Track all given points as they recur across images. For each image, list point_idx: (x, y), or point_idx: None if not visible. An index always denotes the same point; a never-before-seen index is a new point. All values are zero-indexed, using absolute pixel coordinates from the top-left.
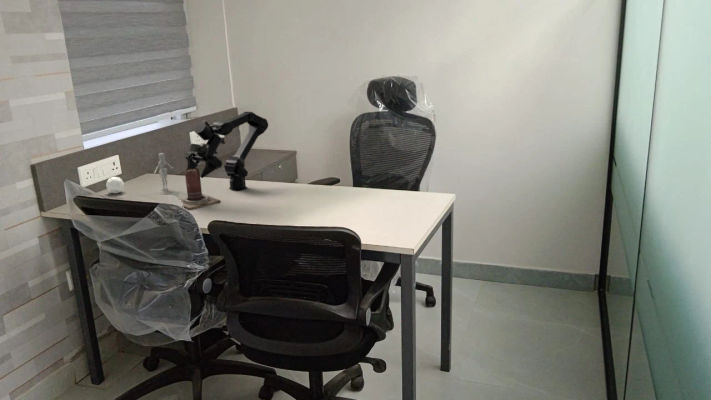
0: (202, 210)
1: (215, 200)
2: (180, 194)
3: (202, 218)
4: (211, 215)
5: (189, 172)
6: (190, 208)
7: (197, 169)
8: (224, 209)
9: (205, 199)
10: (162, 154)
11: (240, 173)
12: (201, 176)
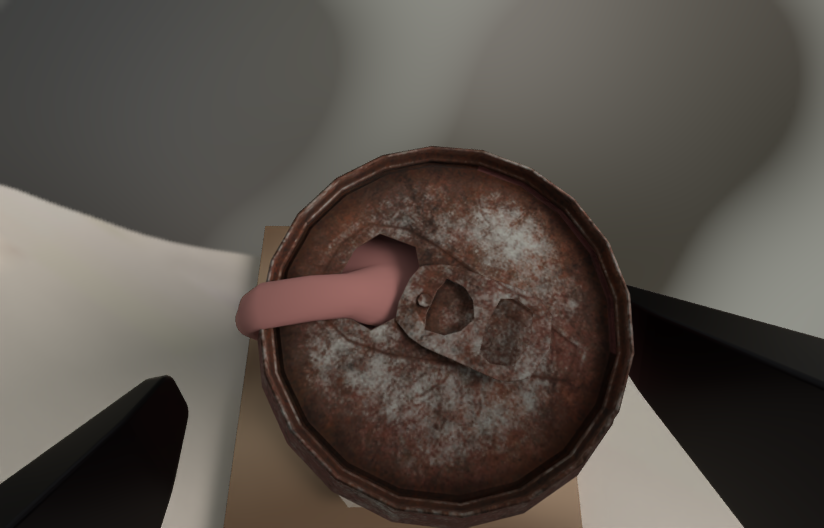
0: (172, 293)
1: (262, 519)
2: None
3: (23, 199)
4: (9, 275)
5: (339, 186)
6: (266, 237)
7: (449, 502)
8: (18, 439)
9: None
10: None
11: None
12: (141, 389)
